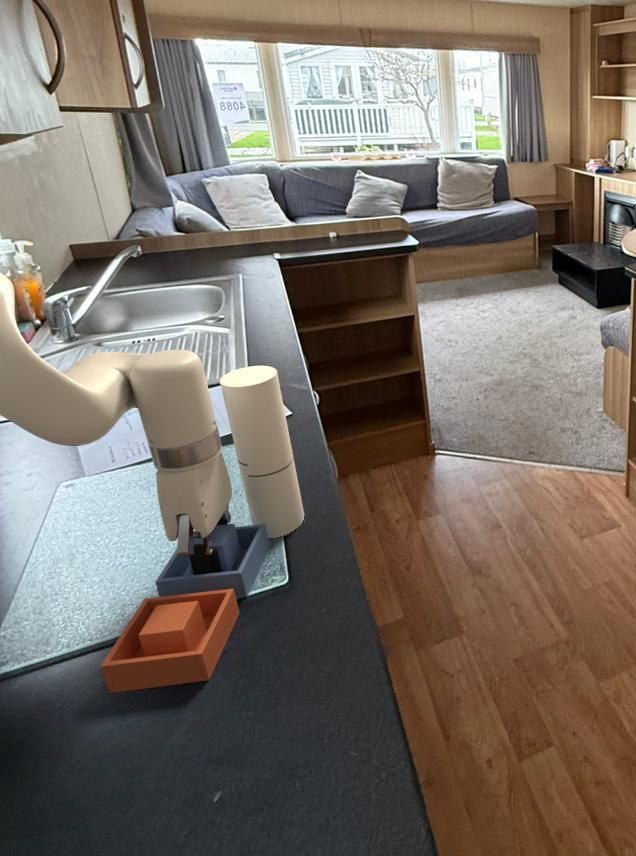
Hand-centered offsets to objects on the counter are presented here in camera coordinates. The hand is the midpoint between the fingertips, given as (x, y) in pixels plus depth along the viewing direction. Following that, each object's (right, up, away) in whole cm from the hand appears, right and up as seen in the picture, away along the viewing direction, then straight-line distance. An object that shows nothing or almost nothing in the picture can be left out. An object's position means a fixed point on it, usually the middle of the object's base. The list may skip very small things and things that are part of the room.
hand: (216, 561), depth 88 cm
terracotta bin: (+2, -7, -11) cm, 13 cm away
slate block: (0, 0, 0) cm, 0 cm away
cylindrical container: (+3, +2, +11) cm, 12 cm away
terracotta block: (+2, -6, -11) cm, 13 cm away
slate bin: (0, -2, +1) cm, 2 cm away
